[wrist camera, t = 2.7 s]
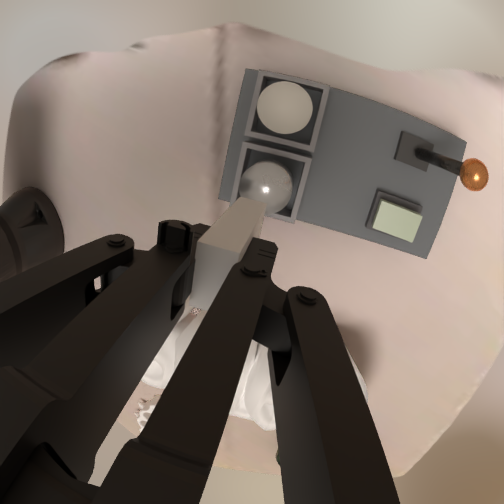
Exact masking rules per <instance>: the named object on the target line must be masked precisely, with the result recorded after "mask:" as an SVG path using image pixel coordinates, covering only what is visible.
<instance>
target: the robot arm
mask: <svg viewBox="0 0 504 504" xmlns="http://www.w3.org/2000/svg"><path fill="white" fill-rule="evenodd" d="M266 207H267V203H263V202H259V201H256V200H252V199H248V198H244V197H239V198H238V199H237V200H236V201H235V202H234V204H233V205H232V206H231V207H230V208H229V209H228V210H227V211H226V212H225V213H224V214H223V215H222V216H221V217H220V218H219V219H218V220H217V221H216V222H215V223H214V224H213V225H212V226H208V225H204V224H201V223H199V224H196V225H191V224H189V223H186V222H184V221H179V220H165V221H161V222H159V226H158V237H157V244H156V245H155V246H154V247H153V248H151V249H150V250H149V251H144V250H136V249H134V241H133V239H132V238H130V237H128V236H125V235H123V234H121V235H120V234H114V235H108V236H105V237H102V238H100V239H97V240H95V241H92V242H90V243H87V244H85V245H82V246H80V247H78V248H75V249H73V250H71V251H68V252H66V253H64V254H63V249H64V239H63V231H62V227H61V223H60V220H59V217H58V215H57V212H56V210H55V208H54V206H53V205H52V203H51V202H50V200H49V199H48V198H47V197H46V195H45V194H44V193H42V192H41V191H40V190H38V189H36V188H33V187H27V188H24V189H22V190H19V191H17V192H15V193H14V194H13V195H12V196H10V197H9V198H8V199H7V200H6V201H5V202H4V203H3V204H2V205H1V206H0V504H199V502H200V499H201V497H202V493H203V490H204V488H205V485H206V482H207V479H208V476H209V473H210V470H211V467H212V464H213V461H214V458H215V455H216V452H217V449H218V446H219V443H220V440H221V437H222V434H223V431H224V428H225V425H226V422H227V419H228V415H229V412H230V409H231V406H232V403H233V400H234V397H235V393H236V390H237V387H238V384H239V381H240V377H241V374H242V371H243V368H244V364H245V361H246V358H247V355H248V351H249V348H250V345H251V341H252V340H254V341H256V342H258V343H260V344H261V345H263V346H265V347H267V348H268V352H267V357H268V365H269V373H270V382H271V390H272V399H273V407H274V416H275V424H276V433H277V442H278V450H279V459H280V467H281V476H282V484H283V493H284V502H285V504H400V502H399V498H398V494H397V491H396V488H395V485H394V482H393V478H392V475H391V472H390V469H389V466H388V463H387V459H386V456H385V453H384V450H383V447H382V444H381V442H380V439H379V436H378V433H377V430H376V427H375V424H374V421H373V419H372V416H371V413H370V410H369V407H368V405H367V402H366V399H365V396H364V394H363V391H362V388H361V386H360V383H359V380H358V378H357V375H356V373H355V370H354V367H353V365H352V362H351V360H350V357H349V355H348V352H347V349H346V347H345V344H344V342H343V339H342V337H341V334H340V332H339V330H338V327H337V325H336V322H335V320H334V317H333V315H332V313H331V310H330V308H329V305H328V303H327V301H326V299H325V298H324V296H323V295H322V294H320V293H319V292H318V291H316V290H313V289H312V288H309V287H304V286H296V287H292V288H290V289H289V290H288V292H286V291H284V290H282V289H280V288H279V287H277V286H276V285H275V284H274V283H273V282H272V280H271V273H272V269H273V265H274V262H275V258H276V254H277V251H278V248H277V246H276V244H275V243H273V242H270V241H266V240H263V239H259V236H260V232H261V228H262V224H263V220H264V215H265V211H266ZM99 276H100V279H101V288H100V289H97V290H95V287H94V279H95V278H97V277H99ZM189 295H190V298H189V306H192V307H195V308H198V309H201V310H204V311H207V313H206V315H205V316H204V318H203V320H202V322H201V324H200V325H199V327H198V329H197V331H196V333H195V335H194V336H193V338H192V340H191V342H190V344H189V345H188V347H187V349H186V351H185V353H184V355H183V356H182V358H181V360H180V362H179V364H178V365H177V367H176V369H175V371H174V373H173V375H172V376H171V378H170V380H169V382H168V384H167V386H166V387H165V389H164V391H163V393H162V395H161V397H160V399H159V400H158V402H157V404H156V406H155V408H154V410H153V411H152V413H151V415H150V417H149V419H148V421H147V423H146V424H145V426H144V428H143V430H142V432H141V433H140V435H139V436H138V437H137V438H134V439H130V440H129V441H128V442H127V443H126V444H125V445H124V446H123V448H122V449H121V451H120V452H119V454H118V456H117V457H116V459H115V461H114V463H113V465H112V466H111V468H110V470H109V472H108V474H107V476H106V477H105V479H104V481H103V483H102V485H101V486H100V487H98V486H95V485H92V484H88V481H89V479H90V477H91V475H92V473H93V469H94V464H95V456H96V453H97V451H98V449H99V448H100V446H101V444H102V443H103V441H104V439H105V438H106V436H107V434H108V432H109V431H110V429H111V427H112V426H113V424H114V423H115V421H116V419H117V418H118V416H119V414H120V413H121V411H122V409H123V408H124V406H125V405H126V403H127V401H128V400H129V398H130V396H131V395H132V393H133V392H134V390H135V388H136V387H137V385H138V384H139V382H140V380H141V379H142V377H143V376H144V374H145V372H146V371H147V369H148V368H149V366H150V364H151V363H152V361H153V360H154V358H155V356H156V355H157V353H158V352H159V350H160V349H161V347H162V345H163V344H164V342H165V341H166V339H167V338H168V336H169V335H170V333H171V331H172V330H173V328H174V327H175V325H176V324H177V322H178V321H179V319H180V317H181V316H182V314H183V313H184V309H185V301H186V299H187V298H188V296H189Z"/></svg>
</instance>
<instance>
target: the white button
mask: <svg viewBox="0 0 504 504" xmlns="http://www.w3.org/2000/svg"><path fill="white" fill-rule="evenodd" d="M312 111H313V106H312V101H311V98H310V96H309V94H308V93H307V92H306V91H305V90H304V89H303V88H302V87H301V86H299V85H298V84H295V83H292V82H287V81H281V82H276V83H273V84H271V85H269V86H268V87H266V88H265V89H264V90H263V91H262V93H261V94H260V96H259V98H258V102H257V112H258V116H259V118H260V120H261V122H262V123H263V124H264V125H265V126H266V127H267V128H268V129H270V130H272V131H274V132H276V133H281V134H290V133H294V132H297V131H299V130H301V129H303V128H304V127H305V126H306V125H307V124H308V122H309V120H310V118H311V115H312Z"/></svg>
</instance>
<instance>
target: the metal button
mask: <svg viewBox="0 0 504 504" xmlns="http://www.w3.org/2000/svg"><path fill="white" fill-rule="evenodd" d="M292 189H293V177H292V174H291V172H290V170H289V169H288V168H287V167H286V166H285V165H284V164H283V163H281V162H279V161H277V160H273V159H265V160H261V161H259V162H257V163H255V164H254V165H253V166H251V167H250V168H248V169H247V170H246V171H245V172H244V174H243V175H242V177H241V180H240V183H239V192H240V196H241V197H244V198H248V199H252V200H256V201H259V202H263V203H267V207H266V211H265V214H273V213H276V212H278V211H280V210H282V209H283V208H284V207H285V206H286V205H287V203H288V202H289V200H290V197H291V194H292Z"/></svg>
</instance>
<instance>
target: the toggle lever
mask: <svg viewBox="0 0 504 504" xmlns="http://www.w3.org/2000/svg"><path fill="white" fill-rule="evenodd" d="M415 156H416V158H417V159H419V160H422V161H424V162H427V163H429V164H432V165H434V166H437V167H439V168H442V169H444V170H447V171H449V172H451V173H454V174H456V175H458V176H460V179H461V182H462V183H463V185H464V186H465V187H466V188H467V189H469V190H471V191H480V190H482V189H483V188H484V187H485V186H486V185H487V182H488V178H489V175H488V170H487V168H486V166H485V165H484V163H483V162H481V161H480V160H478V159H475V158H470V159H467V160H465V161H464V162H460V161H458V160H455V159H452V158H450V157H447V156H444V155H441V154H439V153H436V152H433V151H430V150H427V149H424V148H417V149H416V150H415Z"/></svg>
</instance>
